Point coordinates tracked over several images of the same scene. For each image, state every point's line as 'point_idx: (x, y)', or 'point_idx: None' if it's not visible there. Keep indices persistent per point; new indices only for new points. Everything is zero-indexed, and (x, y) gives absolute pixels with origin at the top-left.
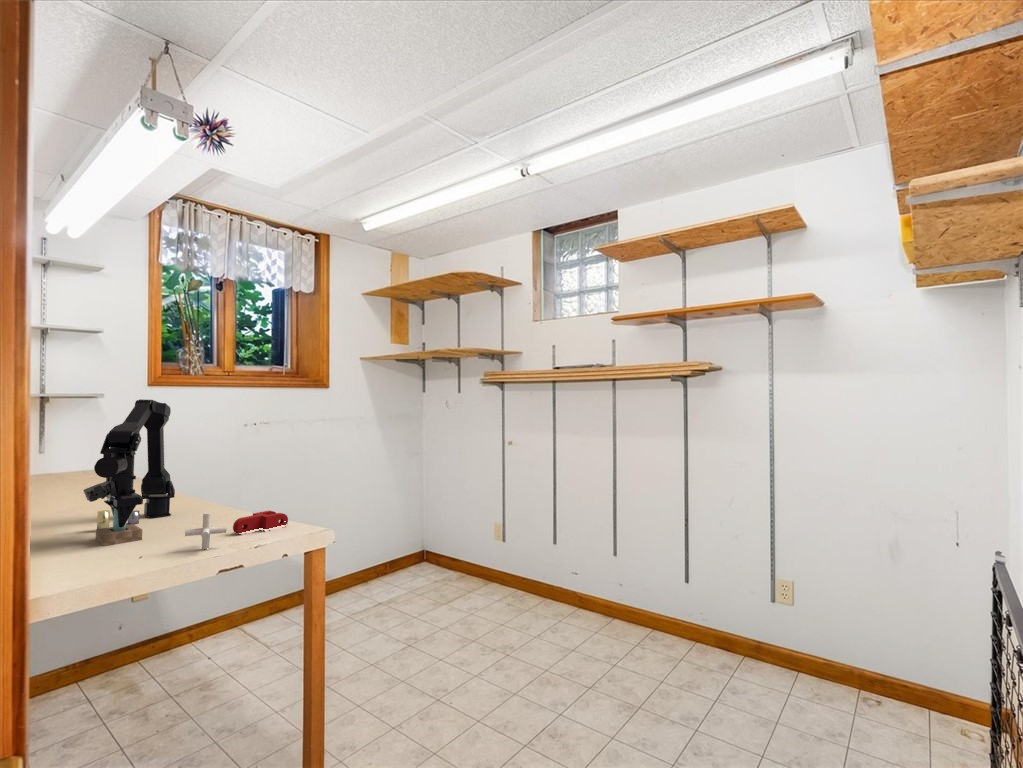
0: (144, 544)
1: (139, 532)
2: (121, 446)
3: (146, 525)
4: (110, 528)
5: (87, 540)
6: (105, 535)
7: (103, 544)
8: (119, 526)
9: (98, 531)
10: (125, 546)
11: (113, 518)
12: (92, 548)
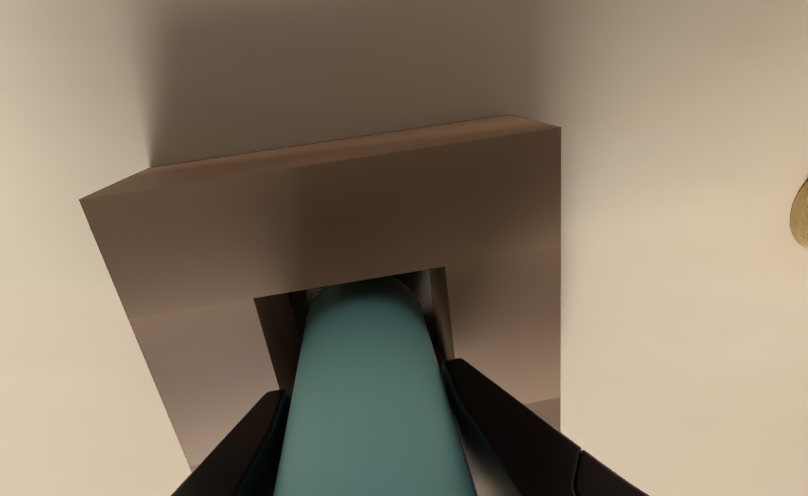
0: (51, 456)
1: None
2: None
3: (742, 481)
4: (487, 283)
5: (533, 36)
6: (89, 206)
7: (179, 164)
8: (264, 398)
9: (425, 146)
10: (36, 332)
11: (377, 413)
12: (85, 47)
